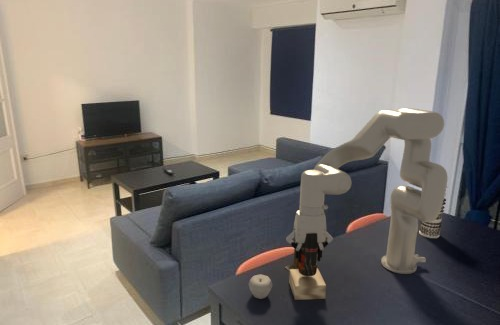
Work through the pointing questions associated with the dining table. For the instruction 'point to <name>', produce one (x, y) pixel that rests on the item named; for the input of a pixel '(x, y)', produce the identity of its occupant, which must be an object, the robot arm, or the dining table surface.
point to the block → (307, 285)
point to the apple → (260, 286)
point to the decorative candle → (432, 225)
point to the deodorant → (309, 255)
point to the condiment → (293, 266)
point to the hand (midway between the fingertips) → (308, 259)
